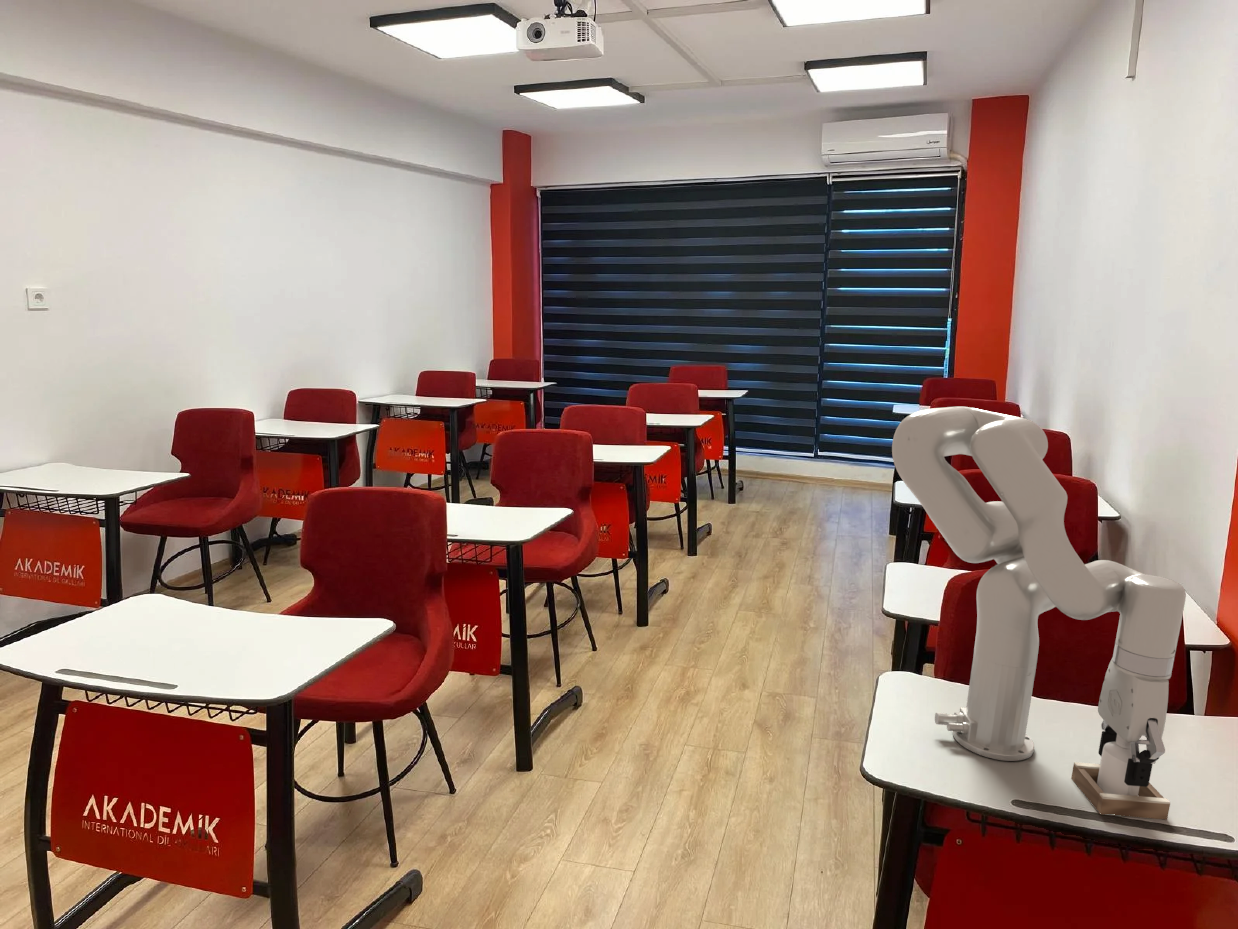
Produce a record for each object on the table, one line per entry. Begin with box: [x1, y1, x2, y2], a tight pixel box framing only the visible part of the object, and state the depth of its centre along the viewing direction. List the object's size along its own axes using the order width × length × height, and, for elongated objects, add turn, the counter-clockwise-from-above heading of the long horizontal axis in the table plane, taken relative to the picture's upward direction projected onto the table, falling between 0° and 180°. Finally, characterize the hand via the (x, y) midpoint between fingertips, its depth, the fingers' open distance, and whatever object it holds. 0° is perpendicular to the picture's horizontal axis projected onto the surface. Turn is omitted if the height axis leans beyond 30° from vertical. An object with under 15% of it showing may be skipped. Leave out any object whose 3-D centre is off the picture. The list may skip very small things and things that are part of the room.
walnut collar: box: [1070, 761, 1171, 821], centre depth 131 cm, size 10×10×3 cm
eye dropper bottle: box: [1097, 734, 1140, 796], centre depth 130 cm, size 4×6×12 cm
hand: (1122, 769), depth 130 cm, fingers open, 7 cm apart
